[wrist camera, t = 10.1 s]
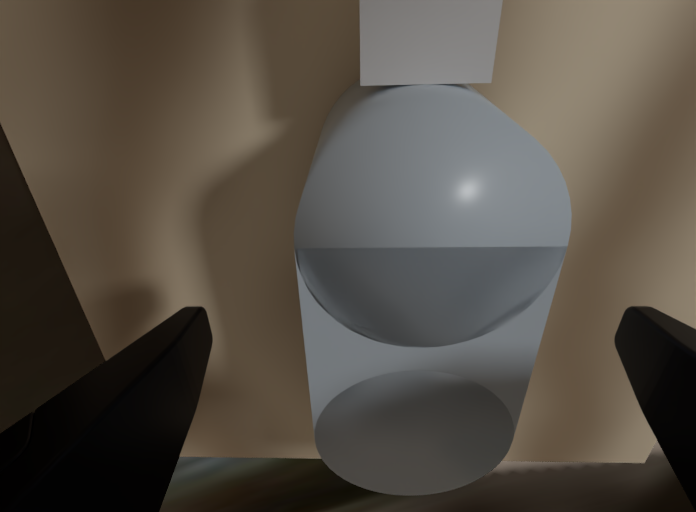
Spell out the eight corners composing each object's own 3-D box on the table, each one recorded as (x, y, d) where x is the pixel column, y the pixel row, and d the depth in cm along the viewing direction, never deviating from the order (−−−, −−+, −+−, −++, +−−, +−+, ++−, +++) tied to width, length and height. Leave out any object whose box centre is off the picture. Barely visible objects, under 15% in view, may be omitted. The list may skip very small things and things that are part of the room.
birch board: (998, -292, 7) (1100, -338, 6) (628, 436, 18) (644, 462, 17) (-107, -238, 8) (-173, -270, 7) (160, 430, 19) (147, 455, 18)
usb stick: (461, 365, 14) (496, 496, 11) (331, 365, 14) (320, 494, 11) (531, -76, 8) (676, -138, 4) (303, -68, 8) (255, -121, 5)
